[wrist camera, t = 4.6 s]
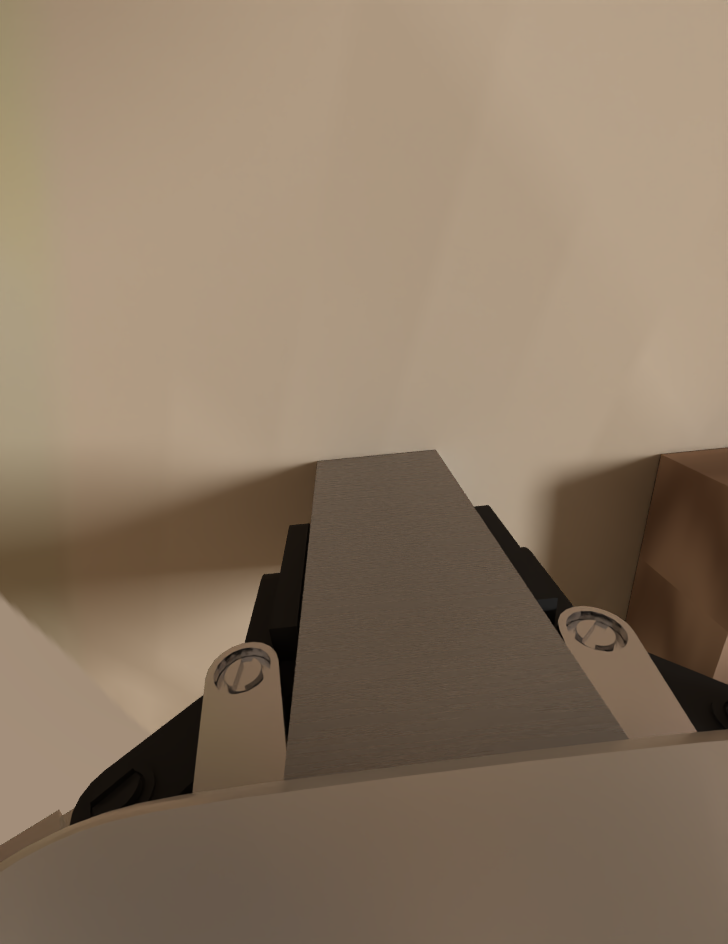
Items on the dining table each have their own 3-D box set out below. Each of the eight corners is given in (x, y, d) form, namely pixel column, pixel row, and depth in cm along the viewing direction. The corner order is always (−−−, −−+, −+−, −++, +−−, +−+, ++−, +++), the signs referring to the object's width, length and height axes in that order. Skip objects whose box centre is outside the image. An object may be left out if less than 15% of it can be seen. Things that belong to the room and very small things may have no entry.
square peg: (330, 561, 15) (324, 949, 6) (317, 461, 14) (283, 782, 5) (437, 549, 16) (585, 914, 6) (435, 449, 14) (630, 741, 5)
